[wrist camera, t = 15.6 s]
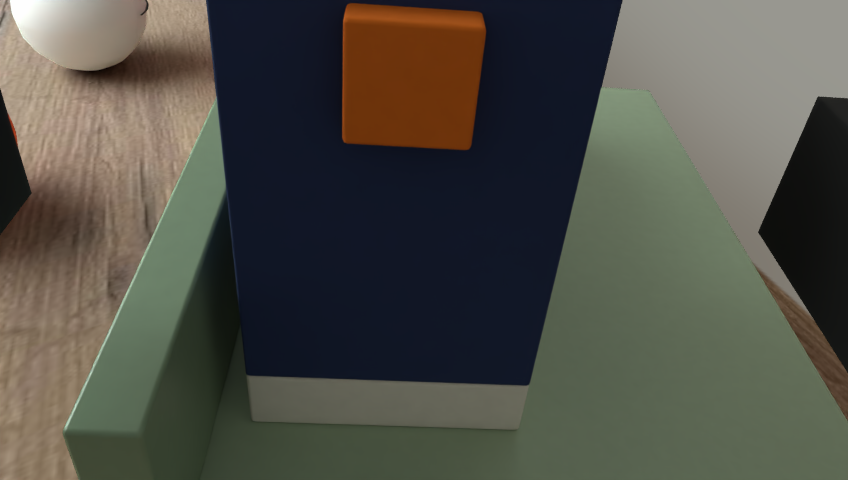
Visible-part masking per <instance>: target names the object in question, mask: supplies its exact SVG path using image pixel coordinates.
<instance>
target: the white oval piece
mask: <svg viewBox="0 0 848 480" xmlns="http://www.w3.org/2000/svg"><path fill="white" fill-rule="evenodd" d="M10 3H11V12H12V14H13V17H14V19H15V22H16V24H17V26H18V28H19V30H20V32H21V35H22V37H23V38H24V39H25V40H26V41H27V42H28V43H29V44H30V46H31V47H32V48H33V49H34V50H35V51H36V52H37V53H39V54H40V55H42V56H43V57H45V58H47V59H48V60H50V61H52V62H54V63H55V64H57V65H59V66H61V67H65V68H68V69H76V70H84V71H95V70H101V69H104V68H107V67H110V66H113V65H116V64H118V63H120V62H122V61H123V60H124V59H125V58H126V57H127V56H128V55H129V54H130V53H131V52H132V51H133V50H134V49H135V48H136V47H137V46H138V45H139V43H140V40H141V38H142V35H143V33H144V30H145V26H146V11H147V10H148V2H147V0H10Z"/></svg>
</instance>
